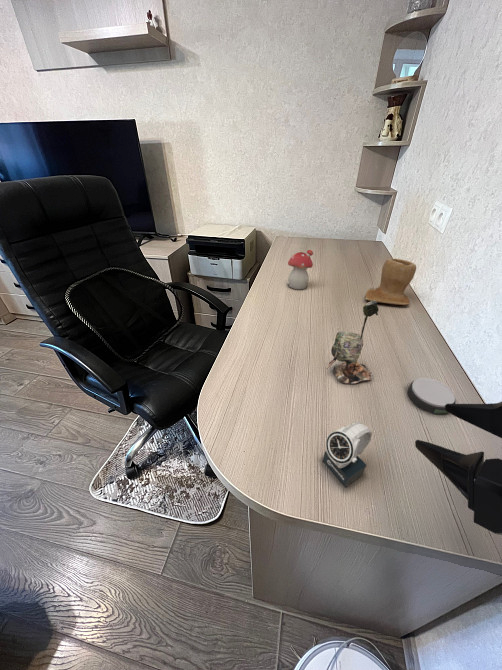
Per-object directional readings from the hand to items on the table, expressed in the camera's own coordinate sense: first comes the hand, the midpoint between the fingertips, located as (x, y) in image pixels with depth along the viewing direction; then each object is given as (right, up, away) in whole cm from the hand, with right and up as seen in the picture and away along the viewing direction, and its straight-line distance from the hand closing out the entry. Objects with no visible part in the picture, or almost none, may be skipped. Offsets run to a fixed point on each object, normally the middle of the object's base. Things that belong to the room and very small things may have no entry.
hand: (431, 424), depth 37 cm
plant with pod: (0, +2, +33) cm, 33 cm away
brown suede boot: (+25, +25, +66) cm, 74 cm away
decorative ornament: (-6, +31, +75) cm, 81 cm away
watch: (-8, -12, +13) cm, 19 cm away
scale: (+16, -3, +26) cm, 31 cm away
